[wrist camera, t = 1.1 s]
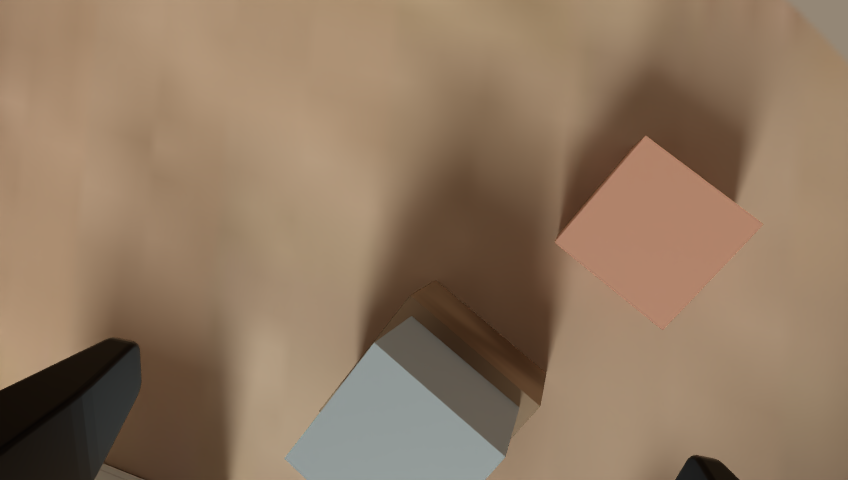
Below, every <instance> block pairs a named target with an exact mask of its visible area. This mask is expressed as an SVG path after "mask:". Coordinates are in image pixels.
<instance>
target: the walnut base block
mask: <svg viewBox="0 0 848 480" xmlns="http://www.w3.org/2000/svg"><path fill="white" fill-rule="evenodd" d="M411 316H412V317H413V318H415V319H416V320H417V321H418V322H419V323H420V324H422V325H423V326H424V327H425V328H426V329H428V330H429V331H430V332H431V333H432V334H433V335H435V336H436V337H437V338H438V339H439V340H440V341H442V342H443V343H444V344H445V345H446V346H448V347H449V348H450V349H451V350H452V351H453V352H455V353H456V354H457V355H458V356H459V357H461V358H462V359H463V360H464V361H465V362H466V363H468V364H469V365H470V366H471V367H472V368H473V369H475V370H476V371H477V372H478V373H479V374H481V375H482V376H483V377H484V378H485V379H486V380H488V381H489V382H490V383H491V384H492V385H494V386H495V387H496V388H497V389H498V390H499V391H501V392H502V393H503V394H504V395H505V396H506V397H508V398H509V399H510V400H511V401H512V402H514V403H515V404H516V405H517V406H518V407H519V411H518V414H517V418H516V421H515V425H514V428H513V432H512V435H511V438H512V437H513V436H514V435H515V434H516V433H517V431H518V430H519V429H520V428H521V427H522V426H523V425H524V424H525V423H526V422H527V420H528V419H529V418H530V417H531V416H532V415H533V414H534V413H535V412H536V411H537V409H538V408H539V407H540V405H541V400H542V394H543V389H544V383H545V378H546V373H545V372H544V371H543V370H542V369H540V368H539V367H538V366H537V365H536V364H534V363H533V362H532V361H531V360H530V359H529V358H527V357H526V356H525V355H524V354H523V353H521V352H520V351H519V350H518V349H517V348H515V347H514V346H513V345H512V344H511V343H510V342H508V341H507V340H506V339H505V338H504V337H502V336H501V335H500V334H499V333H498V332H496V331H495V330H494V329H493V328H492V327H491V326H489V325H488V324H487V323H486V322H485V321H483V320H482V319H481V318H480V317H479V316H477V315H476V314H475V313H474V312H473V311H472V310H470V309H469V308H468V307H467V306H466V305H464V304H463V303H462V302H461V301H460V300H458V299H457V298H456V297H455V296H454V295H453V294H451V293H450V292H449V291H448V290H447V289H445V288H444V287H443V286H442V285H441V284H440V283H438V282H437V281H436V280H435V281H434V282H432V283H430V284H429V285H427V286H425V287H424V288H422V289H420V290H419V291H417V292H415V293H413V294H412V295H410V296H409V298H408V299H407V300H406V302H405V303H404V304H403V305H402V307H401V308H400V309H399V310H398V312H397V313H396V314H395V316H394V317H393V318H392V319H391V321H390V322H389V323H388V324H387V326H386V327H385V328H384V329H383V331H382V332H381V333H380V335H379V336H378V337H377V338H376V340H375V341H374V342H376V341H377V340H378V339H380V338H381V337H383V336H384V335H385V334H387V333H388V332H390V331H391V330H392V329H394V328H395V327H397V326H398V325H399V324H401V323H402V322H404V321H405V320H406V319H408V318H409V317H411ZM374 342H373V343H374ZM373 343H372V345H373ZM372 345H371V346H372ZM371 346H370V347H371ZM370 347H369V348H368V350H369V349H370ZM368 350H367V351H368ZM367 351H366V352H367ZM366 352H365V354H366ZM365 354H364V355H365ZM364 355H363V356H364ZM363 356H362V357H361V359H362V358H363ZM361 359H360V360H361ZM360 360H359V361H360ZM359 361H358V362H357V364H358V363H359ZM357 364H356V365H357ZM356 365H355V366H354V368H355V367H356ZM354 368H353V369H354ZM353 369H352V370H353ZM352 370H351V371H350V373H351V372H352ZM350 373H349V374H350ZM349 374H348V375H347V376H346V378H347V377H348V376H349ZM346 378H345V379H344V380H343V381H342V383H343V382H344V381H345V380H346ZM342 383H341V384H340V385H339V387H340V386H341V385H342ZM339 387H338V388H337V389H336V390H335V392H336V391H337V390H338V389H339ZM335 392H334V393H333V394H332V395H331V397H330V398H329V399H328V401H329V400H330V399H331V398H332V396H333V395H334V394H335ZM328 401H327V402H326V403H325V404H324V406H323V407H322V408H321V409H320V411H319V412H321V411H322V409H323V408H324V407H325V405H326V404H327V403H328Z"/></svg>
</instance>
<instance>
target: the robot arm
mask: <svg viewBox="0 0 848 480" xmlns="http://www.w3.org/2000/svg"><path fill="white" fill-rule="evenodd" d="M140 387H141V363H140V348H139V345H138V344H137V343H136V342H134V341H129V340H125V339H120V338H108V339H106V340H104V341H101V342H99V343H97V344H95V345H93V346H91V347H89V348H87V349H85V350H83V351H81V352H79V353H77V354H75V355H73V356H70V357H68V358H66V359H64V360H62V361H60V362H58V363H56V364H54V365H52V366H50V367H48V368H46V369H44V370H42V371H39V372H37V373H35V374H33V375H31V376H29V377H27V378H25V379H23V380H21V381H19V382H17V383H15V384H13V385H11V386H8V387H6V388H4V389H2V390H0V480H95V478H96V476H97V474H98V472H99V470H100V468H101V467H102V465H103V463H104V461H105V459H106V457H107V455H108V453H109V451H110V449H111V447H112V445H113V443H114V441H115V439H116V437H117V435H118V433H119V431H120V429H121V427H122V425H123V423H124V421H125V419H126V417H127V415H128V413H129V411H130V410H131V408H132V406H133V404H134V402H135V400H136V398H137V396H138V393H139V390H140ZM675 480H739V479H738V478H737V477H736V476H735V475H734V474H733V473H732V472H731V471H730V470H729V469H728V468H727V467H726V466H725V465H724V464H723V463H722V462H720V461H719V460H717V459H714V458H709V457H704V456H699V455H693V456H691V457H690V458H688V460H687V461H686V463H685V465H684V466H683V468H682V469H681V471H680V473H679V474H678V476H677V478H676V479H675Z"/></svg>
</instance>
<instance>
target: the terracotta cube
mask: <svg viewBox="0 0 848 480" xmlns="http://www.w3.org/2000/svg"><path fill="white" fill-rule="evenodd" d="M762 226H763V223H761V222H760V221H759V220H757V219H756V218H755V217H753V216H752V215H751V214H749V213H748V212H747V211H745V210H744V209H743V208H741V207H740V206H739V205H737V204H736V203H735V202H734V201H732V200H731V199H730V198H728V197H727V196H726V195H724V194H723V193H722V192H720V191H719V190H718V189H716V188H715V187H714V186H712V185H711V184H710V183H708V182H707V181H706V180H704V179H703V178H702V177H700V176H699V175H698V174H696V173H695V172H694V171H692V170H691V169H690V168H688V167H687V166H686V165H684V164H683V163H682V162H680V161H679V160H678V159H676V158H675V157H674V156H672V155H671V154H670V153H668V152H667V151H666V150H664V149H663V148H662V147H660V146H659V145H658V144H656V143H655V142H654V141H652V140H651V139H650V138H648V137H647V136H645V137H643V138H642V139H641V140H640V141H639V142H638V143H637V144H636V145H634V147H633V148H632V149H631V150H630V151H629V152H628V154H627V155H626V156H625V157H624V158H623V159H622V161H621V162H620V163H619V164H618V165H617V166H616V168H615V169H614V170H613V171H612V172H611V173H610V175H609V176H608V177H607V178H606V179H605V181H604V182H603V183H602V184H601V185H600V186H599V188H598V189H597V190H596V191H595V192H594V193H593V195H592V196H591V197H590V198H589V199H588V200H587V202H586V203H585V204H584V205H583V206H582V207H581V209H580V210H579V211H578V212H577V213H576V214H575V216H574V217H573V218H572V219H571V220H570V221H569V223H568V224H567V225H566V226H565V227H564V228H563V230H562V231H561V232H560V233H559V234H558V236H557V238H556V240H555V242H554V243H556V244H557V245H558V246H559V247H561V248H562V249H563V250H564V251H566V252H567V253H568V254H569V255H570V256H572V257H573V258H574V259H575V260H577V261H578V262H579V263H580V264H582V265H583V266H584V267H585V268H586V269H588V270H589V271H590V272H591V273H593V274H594V275H595V276H596V277H598V278H599V279H600V280H601V281H603V282H604V283H605V284H606V285H607V286H609V287H610V288H611V289H612V290H614V291H615V292H616V293H617V294H619V295H620V296H621V297H622V298H623V299H625V300H626V301H627V302H628V303H630V304H631V305H632V306H633V307H635V308H636V309H637V310H638V311H639V312H641V313H642V314H643V315H644V316H646V317H647V318H648V319H649V320H651V321H652V322H653V323H654V324H655V325H657V326H658V327H659V328H660V329H662V330H663V329H664V328H665V327H666V326H667V325H668V324H669V323H670V322H671V321H672V320H673V319H674V318H675V317H676V316H677V315H678V314H679V313H680V312H681V311H682V310H683V308H684V307H685V306H686V305H687V304H688V303H689V302H690V301H691V300H692V299H693V298H694V297H695V296H696V295H697V294H698V293H699V292H700V291H701V290H702V289H703V287H704V286H705V285H706V284H707V283H708V282H709V281H710V280H711V279H712V278H713V277H714V276H715V275H716V274H717V273H718V272H719V271H720V270H721V269H722V268H723V266H724V265H725V264H726V263H727V262H728V261H729V260H730V259H731V258H732V257H733V256H734V255H735V254H736V253H737V252H738V251H739V250H740V249H741V248H742V247H743V245H744V244H745V243H746V242H747V241H748V240H749V239H750V238H751V237H752V236H753V235H754V234H755V233H756V232H757V231H758V230H759V229H760V228H761V227H762Z"/></svg>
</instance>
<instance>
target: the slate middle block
mask: <svg viewBox="0 0 848 480" xmlns="http://www.w3.org/2000/svg"><path fill="white" fill-rule="evenodd" d="M518 411H519V407H518V406H517V405H516V404H515V403H514V402H512V401H511V400H510V399H509V398H508V397H506V396H505V395H504V394H503V393H502V392H501V391H499V390H498V389H497V388H496V387H495V386H494V385H492V384H491V383H490V382H489V381H488V380H486V379H485V378H484V377H483V376H482V375H481V374H479V373H478V372H477V371H476V370H475V369H473V368H472V367H471V366H470V365H469V364H468V363H466V362H465V361H464V360H463V359H462V358H461V357H459V356H458V355H457V354H456V353H455V352H453V351H452V350H451V349H450V348H449V347H448V346H446V345H445V344H444V343H443V342H442V341H440V340H439V339H438V338H437V337H436V336H435V335H433V334H432V333H431V332H430V331H429V330H428V329H426V328H425V327H424V326H423V325H422V324H420V323H419V322H418V321H417V320H416V319H415V318H413V317H412V316H411V317H409V318H408V319H406V320H405V321H404V322H402V323H401V324H399V325H398V326H397V327H395V328H394V329H392V330H391V331H390V332H388V333H387V334H385V335H384V336H383V337H381V338H380V339H378V340H377V341H376V342H374V343H373V345H372V346H371V347H370V349H369V350H368V351H367V352H366V354H365V355H364V356H363V358H362V359H361V360H360V361H359V363H358V364H357V365H356V367H355V368H354V369H353V370H352V372H351V373H350V374H349V376H348V377H347V378H346V380H345V381H344V382H343V383H342V385H341V386H340V387H339V389H338V390H337V391H336V392H335V394H334V395H333V396H332V398H331V399H330V400H329V401H328V403H327V404H326V405H325V407H324V408H323V409H322V411H321V412H320V413H319V414H318V416H317V417H316V418H315V420H314V421H313V422H312V423H311V425H310V426H309V427H308V429H307V430H306V431H305V432H304V434H303V435H302V436H301V438H300V439H299V440H298V442H297V443H296V444H295V445H294V447H293V448H292V449H291V451H290V452H289V453H288V454H287V456H286V457H285V458H284V459H285V460H286V461H288V462H289V463H290V464H291V465H292V466H293V467H294V468H295V469H296V470H297V471H298V472H299V473H300V474H301V475H302V476H303V477H304V478H306V479H307V480H485V479H486V478H487V477H488V476H489V475H490V474H491V473H492V471H493V470H494V469H495V468H496V467H497V466H498V465H499V464H500V462H501V461H502V460H503V459H504V458H505V457H506V453H507V450H508V446H509V443H510V439H511V435H512V432H513V428H514V425H515V421H516V418H517V414H518Z"/></svg>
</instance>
